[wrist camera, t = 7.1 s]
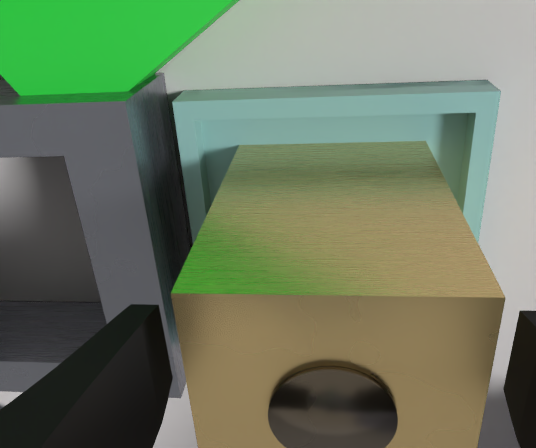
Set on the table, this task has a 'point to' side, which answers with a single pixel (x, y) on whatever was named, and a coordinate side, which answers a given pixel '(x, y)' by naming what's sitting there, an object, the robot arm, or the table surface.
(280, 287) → the block
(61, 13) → the mechanical part
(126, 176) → the grey slotted block
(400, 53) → the table surface
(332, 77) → the table surface
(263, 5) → the table surface
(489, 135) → the tray
